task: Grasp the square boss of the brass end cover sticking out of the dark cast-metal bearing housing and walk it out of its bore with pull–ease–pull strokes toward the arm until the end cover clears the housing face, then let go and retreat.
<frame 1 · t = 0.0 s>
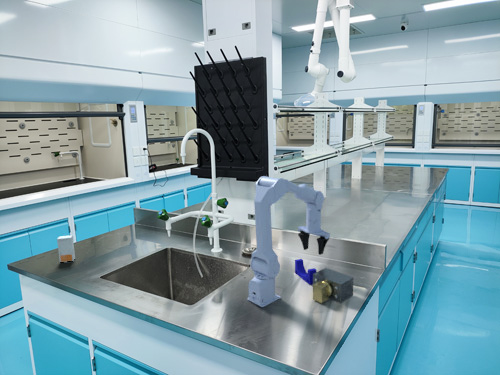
hand: (313, 251, 142), 10 cm above the counter, fingers open, 7 cm apart
cable clip: (306, 278, 141), on the counter
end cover: (326, 288, 124), point 3 cm above the counter, slide at 0.0 cm
skincare box: (67, 261, 165), on the counter
housing: (332, 293, 128), on the counter
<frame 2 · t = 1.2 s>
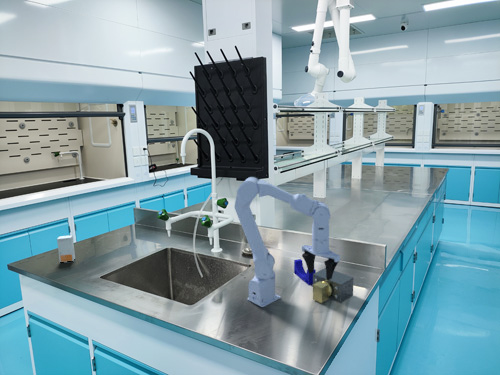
hand: (319, 275, 120), 10 cm above the counter, fingers open, 7 cm apart
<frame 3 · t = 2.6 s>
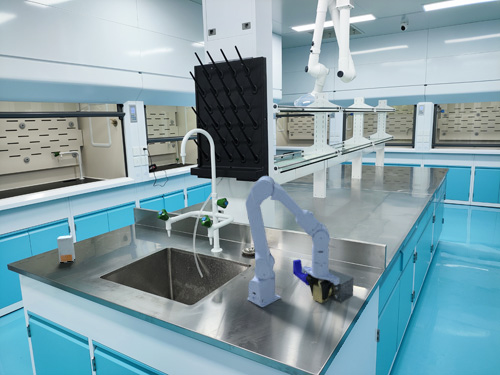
hand: (319, 297, 122), 2 cm above the counter, fingers closed on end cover, 4 cm apart
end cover: (326, 288, 124), point 3 cm above the counter, slide at 0.0 cm, touching gripper
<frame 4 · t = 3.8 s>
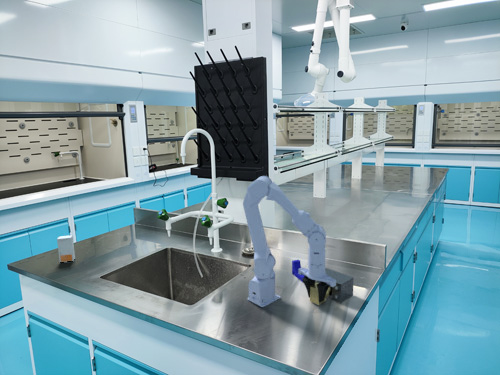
hand: (316, 299, 121), 2 cm above the counter, fingers closed on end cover, 4 cm apart
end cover: (323, 290, 123), point 3 cm above the counter, slide at 1.8 cm, touching gripper
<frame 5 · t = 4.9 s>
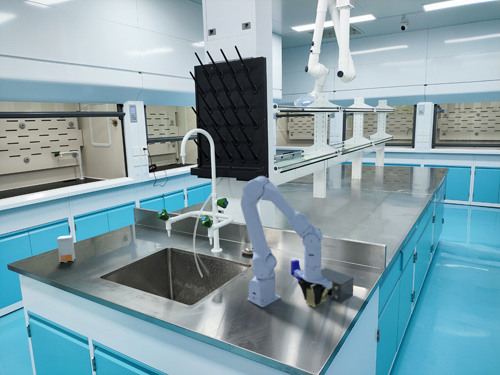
hand: (312, 301, 119), 2 cm above the counter, fingers closed on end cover, 4 cm apart
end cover: (319, 292, 122), point 3 cm above the counter, slide at 3.9 cm, touching gripper
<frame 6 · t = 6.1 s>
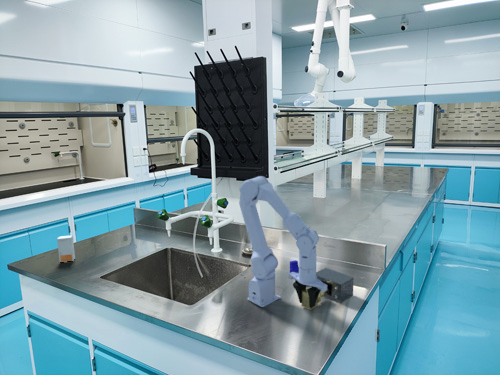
hand: (307, 304, 117), 2 cm above the counter, fingers closed on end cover, 4 cm apart
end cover: (315, 294, 120), point 3 cm above the counter, slide at 6.4 cm, touching gripper
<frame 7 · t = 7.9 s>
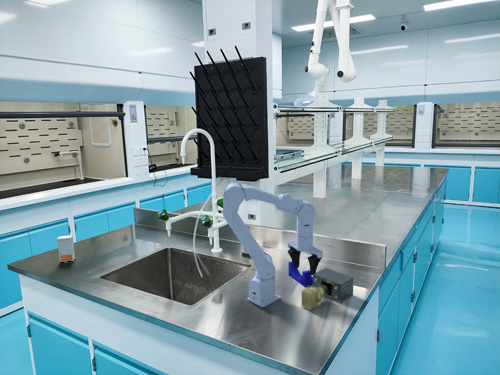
hand: (304, 271, 124), 10 cm above the counter, fingers open, 7 cm apart
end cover: (315, 294, 120), point 3 cm above the counter, slide at 6.4 cm
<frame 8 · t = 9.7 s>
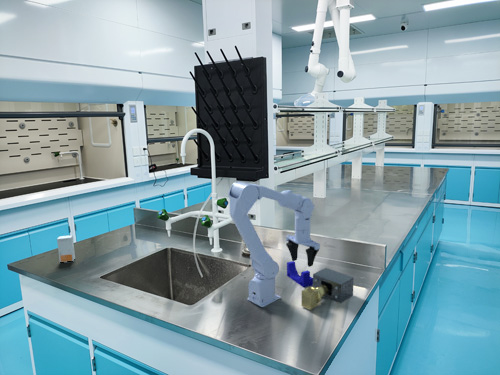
hand: (302, 263, 131), 10 cm above the counter, fingers open, 7 cm apart
at the end: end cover slide at 6.4 cm; the gripper is holding nothing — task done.
